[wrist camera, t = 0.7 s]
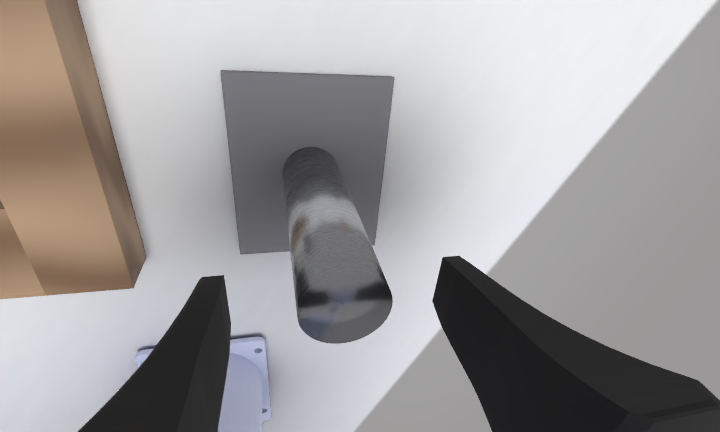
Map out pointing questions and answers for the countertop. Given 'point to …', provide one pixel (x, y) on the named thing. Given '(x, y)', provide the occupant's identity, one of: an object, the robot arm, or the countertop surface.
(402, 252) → the countertop surface
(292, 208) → the steel peg
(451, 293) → the robot arm
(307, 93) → the rubber mat
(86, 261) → the walnut hole block
